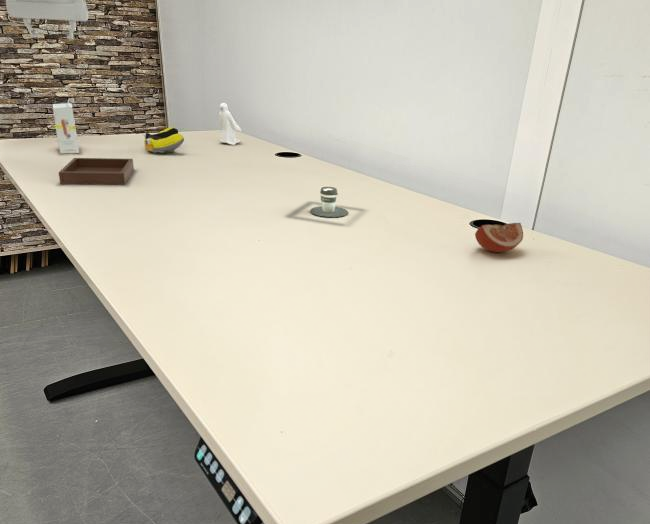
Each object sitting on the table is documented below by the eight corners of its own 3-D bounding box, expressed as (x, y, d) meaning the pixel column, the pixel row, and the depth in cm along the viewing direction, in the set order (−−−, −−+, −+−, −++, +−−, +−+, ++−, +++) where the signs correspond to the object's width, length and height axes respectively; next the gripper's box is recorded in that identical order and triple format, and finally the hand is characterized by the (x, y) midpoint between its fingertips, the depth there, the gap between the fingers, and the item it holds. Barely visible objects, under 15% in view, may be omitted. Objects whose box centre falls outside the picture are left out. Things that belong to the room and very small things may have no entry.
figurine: (212, 142, 182) (211, 101, 177) (231, 140, 188) (230, 100, 183) (230, 146, 179) (229, 104, 173) (248, 143, 184) (248, 102, 179)
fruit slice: (504, 243, 107) (509, 216, 105) (529, 255, 101) (535, 227, 99) (465, 247, 104) (470, 219, 102) (489, 260, 98) (494, 231, 96)
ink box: (58, 148, 164) (51, 102, 158) (77, 147, 166) (71, 102, 160) (59, 154, 157) (52, 106, 152) (79, 153, 159) (73, 106, 153)
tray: (60, 184, 129) (58, 172, 128) (75, 168, 143) (73, 157, 142) (125, 184, 131) (123, 173, 130) (133, 169, 145) (132, 158, 144)
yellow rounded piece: (178, 145, 176) (143, 145, 173) (177, 126, 173) (141, 126, 170) (185, 155, 163) (148, 156, 160) (184, 134, 161) (146, 134, 158)
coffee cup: (364, 209, 123) (366, 185, 121) (346, 224, 113) (348, 198, 110) (310, 201, 126) (311, 178, 124) (288, 215, 116) (288, 190, 114)
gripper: (87, -17, 161) (94, 39, 167) (6, -22, 157) (16, 36, 164) (82, -18, 155) (89, 40, 161) (-1, -23, 152) (9, 36, 158)
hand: (52, 38), depth 162 cm, fingers open, 8 cm apart
